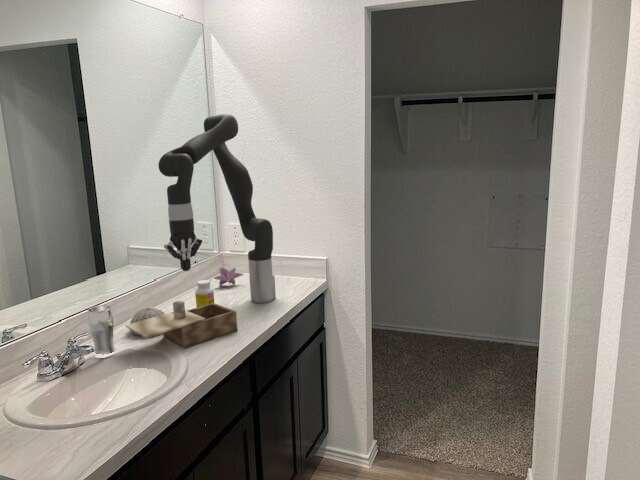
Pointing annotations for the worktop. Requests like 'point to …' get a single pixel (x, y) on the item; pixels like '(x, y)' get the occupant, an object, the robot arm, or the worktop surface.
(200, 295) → the supplement bottle
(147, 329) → the lid
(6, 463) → the worktop surface
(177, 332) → the walnut box
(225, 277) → the lily
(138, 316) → the sea urchin shell
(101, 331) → the beer glass
